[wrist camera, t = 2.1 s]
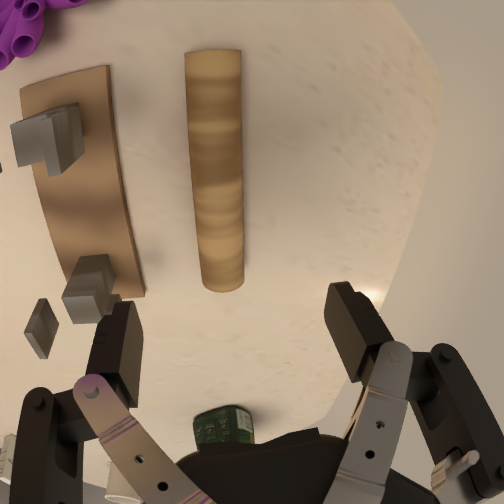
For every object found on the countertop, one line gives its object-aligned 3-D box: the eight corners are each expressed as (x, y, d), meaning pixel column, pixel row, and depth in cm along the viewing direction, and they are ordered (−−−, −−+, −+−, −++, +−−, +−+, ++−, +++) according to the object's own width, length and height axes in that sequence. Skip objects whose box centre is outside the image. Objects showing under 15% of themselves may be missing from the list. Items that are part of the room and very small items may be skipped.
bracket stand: (24, 87, 19) (-57, 112, 10) (108, 65, 20) (49, 68, 11) (77, 295, 31) (50, 377, 22) (145, 290, 32) (134, 378, 23)
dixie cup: (119, 470, 61) (119, 504, 52) (99, 459, 56) (97, 495, 48) (146, 468, 60) (147, 504, 52) (126, 457, 56) (125, 496, 47)
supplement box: (36, 446, 52) (30, 490, 41) (27, 449, 53) (21, 490, 43) (10, 432, 48) (2, 477, 38) (3, 437, 50) (-5, 478, 39)
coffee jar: (211, 432, 51) (223, 524, 36) (185, 417, 47) (193, 520, 31) (258, 416, 50) (279, 513, 34) (235, 399, 45) (255, 511, 30)
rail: (184, 54, 21) (184, 51, 17) (235, 52, 21) (245, 49, 18) (200, 269, 32) (204, 295, 28) (240, 264, 32) (248, 289, 29)
